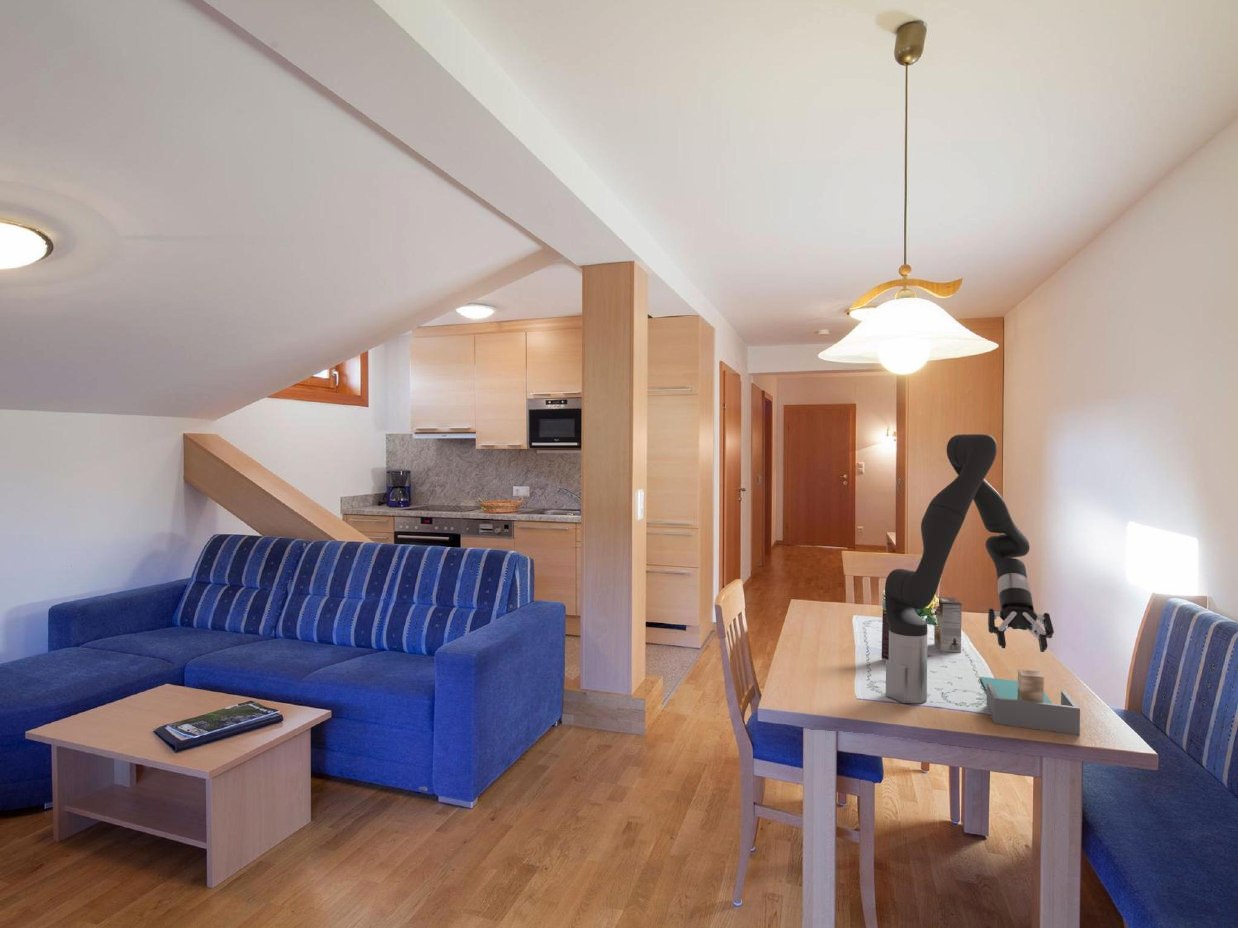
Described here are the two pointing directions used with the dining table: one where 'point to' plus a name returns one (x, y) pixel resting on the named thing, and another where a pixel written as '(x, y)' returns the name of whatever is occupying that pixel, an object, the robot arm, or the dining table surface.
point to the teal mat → (1007, 688)
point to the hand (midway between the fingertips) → (1023, 648)
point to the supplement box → (885, 637)
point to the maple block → (1030, 686)
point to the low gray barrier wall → (1034, 713)
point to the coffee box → (948, 625)
